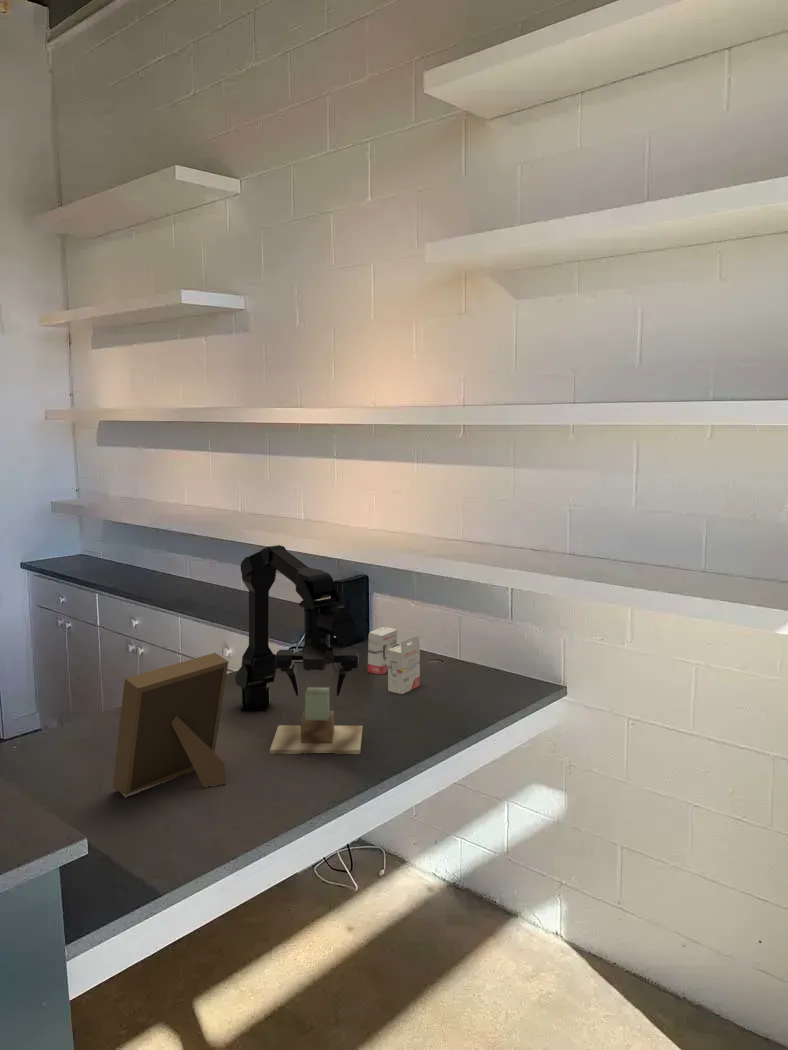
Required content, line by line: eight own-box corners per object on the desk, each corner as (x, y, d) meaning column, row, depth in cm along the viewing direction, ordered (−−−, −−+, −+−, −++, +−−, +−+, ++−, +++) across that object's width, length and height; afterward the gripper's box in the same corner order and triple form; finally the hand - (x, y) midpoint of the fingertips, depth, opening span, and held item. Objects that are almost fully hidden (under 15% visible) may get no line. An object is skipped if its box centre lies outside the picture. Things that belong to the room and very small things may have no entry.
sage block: (305, 720, 192) (305, 694, 191) (307, 712, 197) (307, 687, 196) (327, 720, 192) (327, 695, 191) (329, 712, 197) (329, 687, 196)
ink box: (381, 675, 241) (381, 635, 240) (367, 672, 244) (366, 632, 242) (398, 667, 249) (398, 628, 247) (383, 664, 251) (383, 625, 250)
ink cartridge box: (405, 682, 235) (406, 631, 233) (420, 686, 232) (420, 634, 230) (386, 691, 229) (386, 638, 226) (401, 695, 226) (401, 641, 224)
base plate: (269, 753, 188) (269, 728, 187) (278, 729, 202) (278, 705, 201) (360, 754, 188) (360, 728, 187) (362, 729, 202) (362, 705, 201)
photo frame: (112, 791, 170) (108, 671, 166) (200, 757, 186) (198, 647, 182) (157, 815, 160) (153, 689, 156) (245, 777, 177) (244, 661, 173)
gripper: (270, 638, 183) (271, 707, 185) (356, 638, 183) (357, 708, 185) (277, 625, 194) (278, 690, 196) (358, 625, 194) (359, 690, 196)
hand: (317, 695), depth 193 cm, fingers open, 9 cm apart
